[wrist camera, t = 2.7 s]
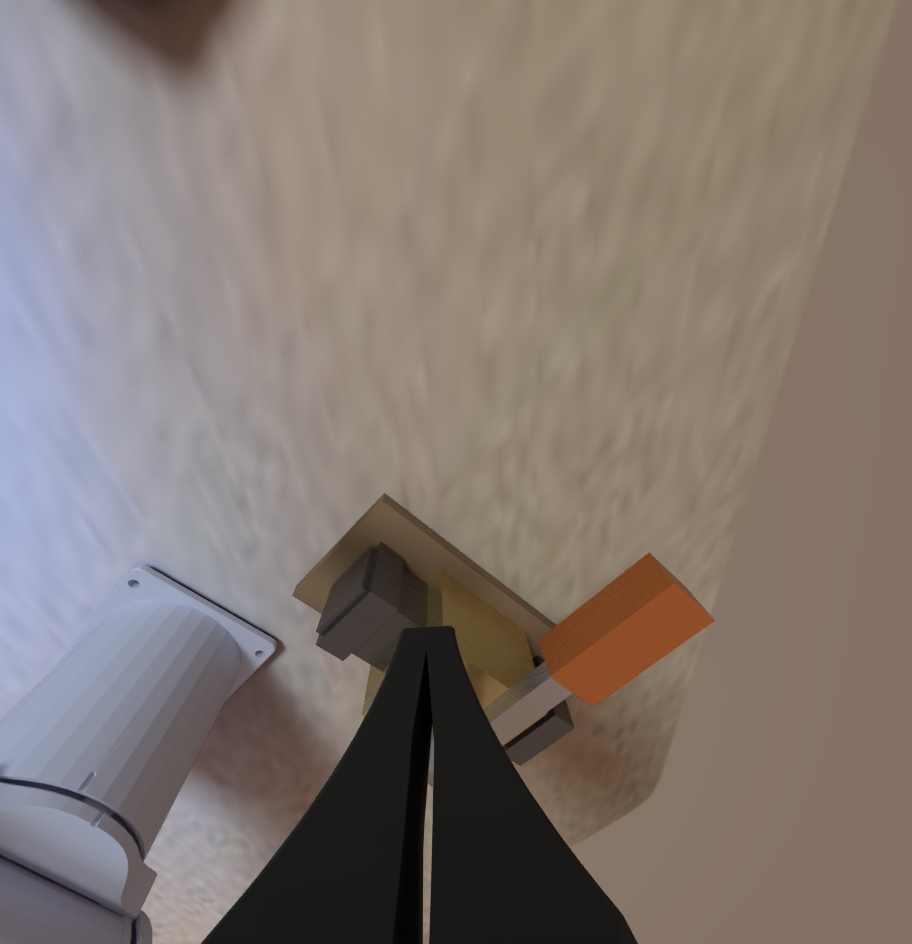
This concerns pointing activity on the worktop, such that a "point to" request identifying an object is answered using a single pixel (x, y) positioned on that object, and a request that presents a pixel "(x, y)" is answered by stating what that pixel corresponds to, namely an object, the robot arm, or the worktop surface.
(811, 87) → the worktop surface
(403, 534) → the plank
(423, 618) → the valve
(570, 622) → the lever
